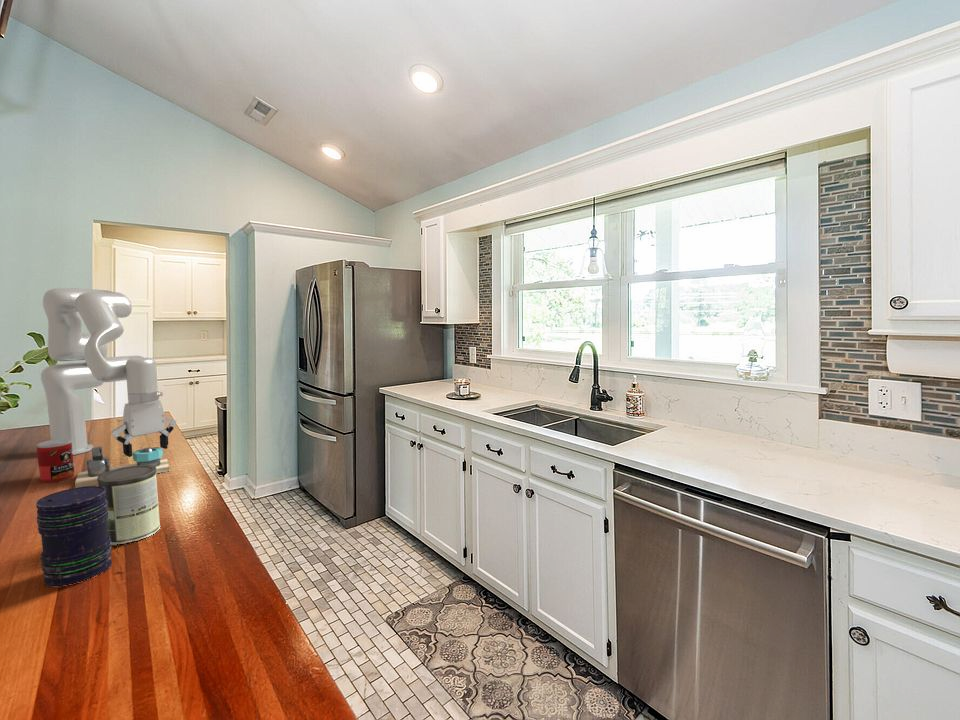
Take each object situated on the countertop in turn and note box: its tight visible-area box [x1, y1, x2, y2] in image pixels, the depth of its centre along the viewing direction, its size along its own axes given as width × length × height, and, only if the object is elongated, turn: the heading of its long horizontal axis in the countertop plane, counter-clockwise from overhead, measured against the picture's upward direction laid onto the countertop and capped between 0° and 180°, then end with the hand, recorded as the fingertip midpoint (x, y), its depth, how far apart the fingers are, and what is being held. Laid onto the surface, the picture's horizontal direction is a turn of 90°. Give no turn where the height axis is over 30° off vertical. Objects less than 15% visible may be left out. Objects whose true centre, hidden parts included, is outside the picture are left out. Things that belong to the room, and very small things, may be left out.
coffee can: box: [97, 465, 161, 546], centre depth 101 cm, size 10×10×14 cm
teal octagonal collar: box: [132, 446, 164, 462], centre depth 143 cm, size 7×7×2 cm
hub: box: [135, 447, 161, 467], centre depth 143 cm, size 6×6×6 cm
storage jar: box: [35, 485, 113, 587], centre depth 86 cm, size 10×10×15 cm
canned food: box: [36, 439, 75, 483], centre depth 137 cm, size 8×8×11 cm
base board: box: [74, 458, 170, 488], centre depth 140 cm, size 11×22×2 cm, turn 127°
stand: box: [86, 446, 111, 477], centre depth 136 cm, size 5×5×8 cm
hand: (146, 451), depth 144 cm, fingers open, 9 cm apart
